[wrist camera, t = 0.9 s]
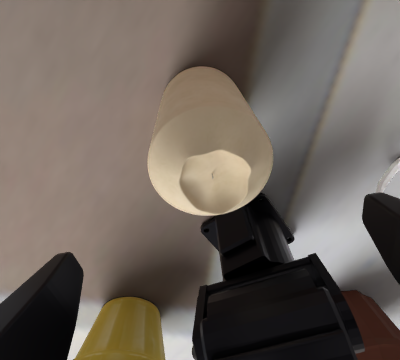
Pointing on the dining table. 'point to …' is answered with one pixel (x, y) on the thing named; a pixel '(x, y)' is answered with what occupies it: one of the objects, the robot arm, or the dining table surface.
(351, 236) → the dining table surface
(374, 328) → the muffin
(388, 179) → the cup
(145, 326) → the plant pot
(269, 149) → the candle
